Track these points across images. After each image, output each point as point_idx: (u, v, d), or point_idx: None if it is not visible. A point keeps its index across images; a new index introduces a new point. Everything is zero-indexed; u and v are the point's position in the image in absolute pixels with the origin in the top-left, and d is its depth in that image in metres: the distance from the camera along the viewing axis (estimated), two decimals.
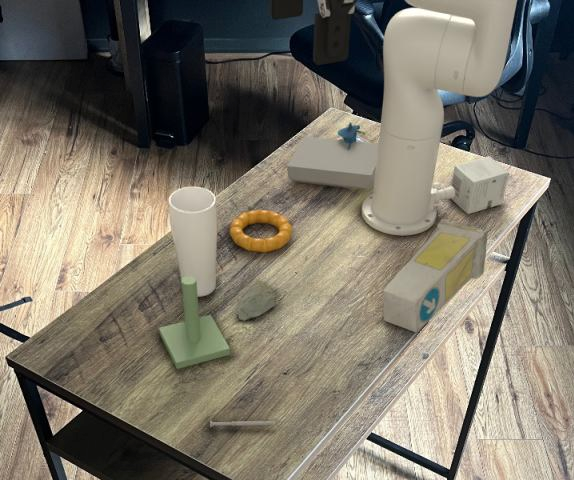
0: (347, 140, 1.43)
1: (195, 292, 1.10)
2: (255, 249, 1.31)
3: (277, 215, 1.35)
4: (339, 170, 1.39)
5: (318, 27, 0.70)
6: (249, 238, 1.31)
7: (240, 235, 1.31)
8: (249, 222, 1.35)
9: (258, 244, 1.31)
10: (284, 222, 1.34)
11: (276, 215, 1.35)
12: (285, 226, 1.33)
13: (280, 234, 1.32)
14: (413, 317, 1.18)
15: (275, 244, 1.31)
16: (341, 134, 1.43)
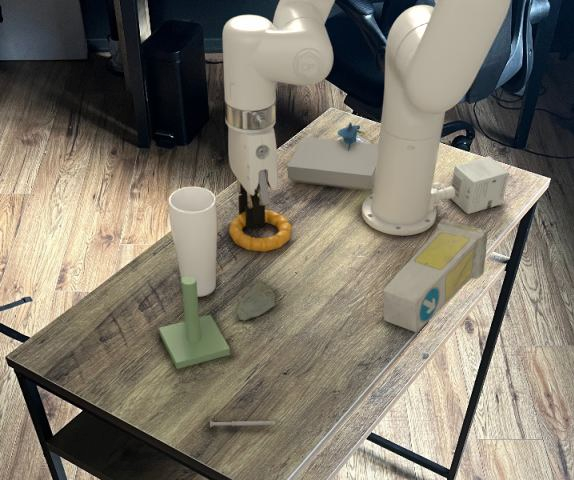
0: (347, 140, 1.43)
1: (195, 292, 1.10)
2: (255, 248, 1.31)
3: (276, 214, 1.35)
4: (339, 171, 1.39)
5: (247, 212, 1.33)
6: (249, 237, 1.31)
7: (240, 234, 1.32)
8: None
9: (258, 243, 1.31)
10: (284, 221, 1.34)
11: (276, 215, 1.35)
12: (284, 226, 1.33)
13: (280, 233, 1.32)
14: (413, 317, 1.18)
15: (274, 243, 1.31)
16: (341, 134, 1.43)
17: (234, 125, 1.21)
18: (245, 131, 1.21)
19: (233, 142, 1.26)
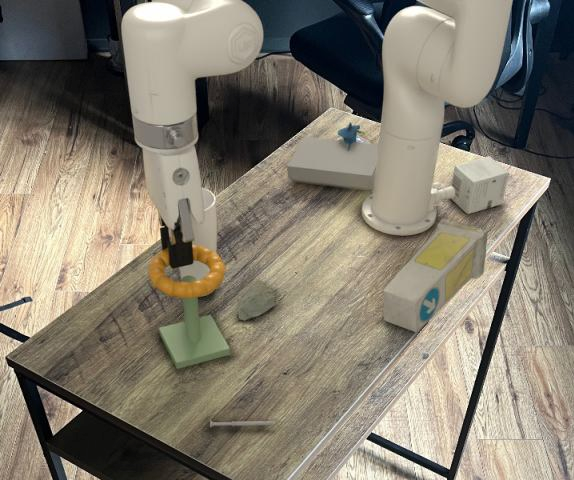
0: (347, 140, 1.43)
1: None
2: (178, 295, 1.06)
3: (207, 251, 1.09)
4: (339, 171, 1.39)
5: (170, 248, 1.07)
6: (170, 281, 1.05)
7: (160, 277, 1.06)
8: None
9: (181, 289, 1.05)
10: (216, 260, 1.08)
11: (207, 252, 1.09)
12: (216, 266, 1.08)
13: (209, 276, 1.06)
14: (413, 317, 1.18)
15: (202, 289, 1.06)
16: (341, 134, 1.43)
17: (144, 143, 0.95)
18: (158, 151, 0.95)
19: (147, 163, 1.00)
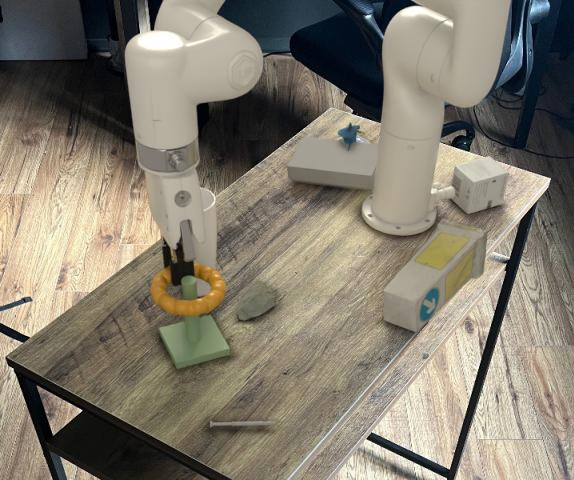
0: (347, 140, 1.43)
1: (195, 292, 1.10)
2: (179, 313, 1.08)
3: (208, 269, 1.12)
4: (339, 171, 1.39)
5: (172, 267, 1.10)
6: (172, 299, 1.08)
7: (162, 295, 1.08)
8: None
9: (183, 307, 1.07)
10: (216, 279, 1.11)
11: (208, 270, 1.12)
12: (217, 284, 1.10)
13: (210, 294, 1.09)
14: (413, 317, 1.18)
15: (203, 307, 1.08)
16: (341, 134, 1.43)
17: (146, 166, 0.97)
18: (160, 174, 0.97)
19: (149, 185, 1.02)
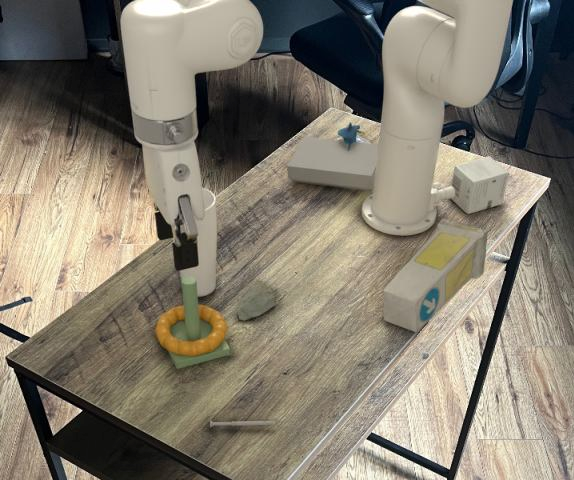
0: (347, 140, 1.43)
1: (195, 292, 1.10)
2: (183, 353, 1.14)
3: (210, 310, 1.18)
4: (339, 171, 1.39)
5: (175, 250, 1.05)
6: (176, 341, 1.14)
7: (166, 336, 1.14)
8: (178, 318, 1.19)
9: (186, 348, 1.14)
10: (218, 319, 1.17)
11: (209, 311, 1.18)
12: (218, 325, 1.16)
13: (212, 335, 1.15)
14: (413, 317, 1.18)
15: (206, 347, 1.14)
16: (341, 134, 1.43)
17: (143, 139, 0.95)
18: (158, 147, 0.95)
19: (147, 159, 1.00)
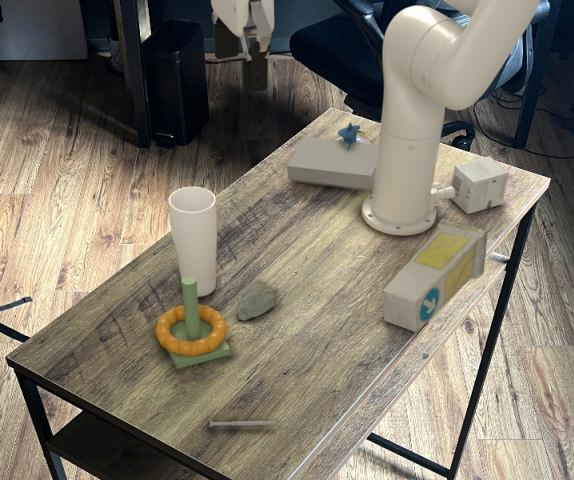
0: (347, 140, 1.43)
1: (195, 292, 1.10)
2: (183, 353, 1.14)
3: (210, 310, 1.18)
4: (339, 171, 1.39)
5: (244, 67, 0.99)
6: (176, 341, 1.14)
7: (166, 336, 1.14)
8: (178, 318, 1.19)
9: (186, 348, 1.14)
10: (218, 319, 1.17)
11: (209, 311, 1.18)
12: (218, 325, 1.16)
13: (212, 335, 1.15)
14: (413, 317, 1.18)
15: (206, 347, 1.14)
16: (341, 134, 1.43)
17: None
18: None
19: None
